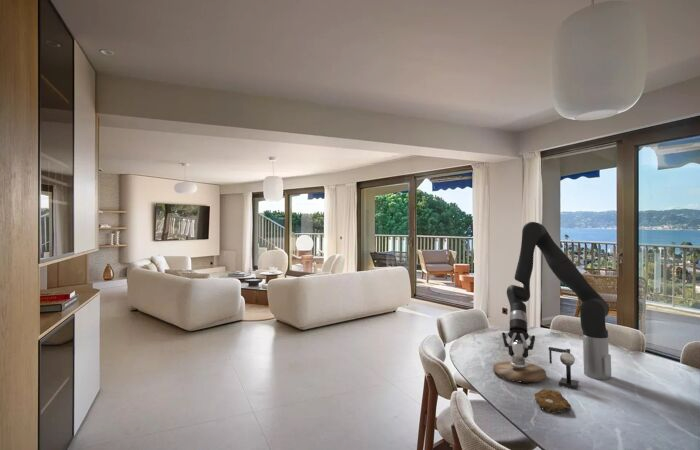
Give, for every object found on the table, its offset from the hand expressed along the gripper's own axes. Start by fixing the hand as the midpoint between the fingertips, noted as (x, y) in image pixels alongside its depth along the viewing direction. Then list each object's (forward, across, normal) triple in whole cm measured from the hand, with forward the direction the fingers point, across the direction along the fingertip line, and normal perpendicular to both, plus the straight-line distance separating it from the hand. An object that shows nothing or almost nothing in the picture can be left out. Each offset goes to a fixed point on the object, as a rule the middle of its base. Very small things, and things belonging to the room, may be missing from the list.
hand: (518, 356), depth 160 cm
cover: (+2, 0, +5) cm, 5 cm away
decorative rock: (+23, +11, -10) cm, 28 cm away
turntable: (+4, 0, +7) cm, 8 cm away
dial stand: (+7, +17, +5) cm, 19 cm away
